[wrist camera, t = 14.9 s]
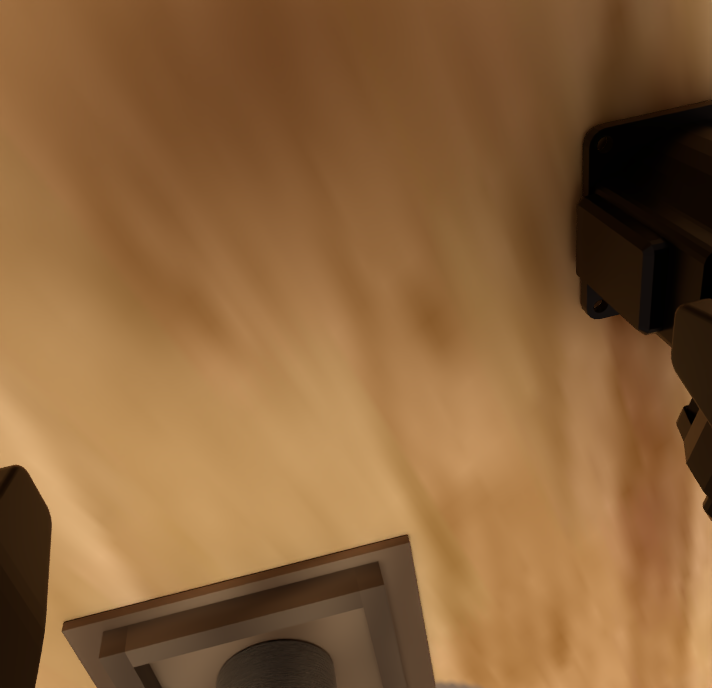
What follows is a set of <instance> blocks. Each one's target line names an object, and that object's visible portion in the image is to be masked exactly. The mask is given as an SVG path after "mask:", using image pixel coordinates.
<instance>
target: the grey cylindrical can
mask: <svg viewBox="0 0 712 688" xmlns="http://www.w3.org/2000/svg"><path fill="white" fill-rule="evenodd" d="M216 688H337V682H336V675H335V668H334V664H333V661H332V659H331V658H330V657H329V655H328V654H327V653H326V652H325V651H323V650H322V649H320V648H318V647H316V646H314V645H311V644H308V643H304V642H299V641H286V640H285V641H273V642H267V643H262V644H259V645H255V646H252V647H250V648H247V649H245V650H243V651H241V652H239V653H238V654H236V655H235V656H233V657H232V658H231V659H229V660H228V661H227V662H226V663H225V664H224V665H223V667H222V668H221V670H220V671H219V673H218V676H217V680H216Z"/></svg>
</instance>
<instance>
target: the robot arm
mask: <svg viewBox="0 0 712 688" xmlns="http://www.w3.org/2000/svg"><path fill="white" fill-rule="evenodd" d="M605 136H606V137H607V142H606V145H605V146H604V147H603V148H602V149H600V150H598V149H597V144H598V142H599V140H600V139H601V138H603V137H605ZM576 273H577V275H578V276H579V277H580V278H581V279H582V280H581V305H582V309H583V310H584V311H585V312H586V313H587V314H588V315H589V316H590V317H591V318H593V319H602V318H606V317H610V316H614V315H619V314H620V315H621V316H622V317H623V318H625V319H626V320H627V321H628V322H629V323H630V324H631V325H632V326H633V327H634V328H635V329H637V330H638V331H639V332H641V333H642V334H644V335H649V334H653V333H656V334H657V335H658V336H659V337H660V338H662V339H663V340H664V341H665V342H666V343H667V344H668V345H669V346H671V347H672V349H671V359H672V364H673V367H674V370H675V372H676V373H677V375H678V376H679V378H680V380H681V381H682V383H683V384H684V386H685V387H686V389H687V390H688V392H689V393H690V395H691V396H692V399H691V401H690V404H689V405H687V406H684V407H683V409H682V411H681V413H680V415H679V418H678V420H677V422H676V424H677V427H678V429H679V432H680V434H681V436H682V439H683V441H684V448H685V456H686V464H687V465H688V467H689V469H690V470H691V472H692V474H693V475H694V477H695V478H696V480H697V482H698V483H699V485H700V487H701V488H702V490H703V492H704V493H705V494H706V495H707V496H706V498H705V500H704V502H703V509H704V510H705V512H706V513H707V515H708V517H709V518H710V520H711V521H712V100H710V101H705V102H701V103H696V104H691V105H687V106H682V107H678V108H673V109H669V110H664V111H660V112H655V113H650V114H646V115H641V116H637V117H632V118H628V119H623V120H619V121H614V122H609V123H605V124H600V125H597V126H595V127H593V128H592V129H591V130H590V131H589V132H588V133H587V134H586V136H585V138H584V142H583V189H582V198H581V199H580V201H579V203H578V204H577V227H576ZM601 299H602V302H601V304H600V305H599V306H597V307H594V304H595V303H596V302H597V301H599V300H601ZM51 530H52V522H51V516H50V512H49V509H48V507H47V505H46V504H45V502H44V500H43V498H42V496H41V495H40V493H39V491H38V489H37V488H36V486H35V484H34V482H33V480H32V479H31V477H30V475H29V473H28V472H27V471H26V469H25V468H23V467H22V466H19V465H12V466H8V467H4V468H0V688H35V684H36V679H37V674H38V668H39V663H40V657H41V652H42V645H43V639H44V633H45V623H46V611H47V595H48V579H49V563H50V547H51Z"/></svg>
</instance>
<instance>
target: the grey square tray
mask: <svg viewBox="0 0 712 688" xmlns="http://www.w3.org/2000/svg"><path fill="white" fill-rule="evenodd" d="M62 633H63V634H64V636H65V637H66V639H67V641H68V642H69V644H70V645H71V647H72V649H73V650H74V652H75V653H76V655H77V657H78V658H79V660H80V661H81V663H82V665H83V666H84V668H85V669H86V671H87V672H88V674H89V676H90V677H91V679H92V680H93V682H94V684H95V685H96V687H97V688H216V680H217V676H218V673H219V671H220V670H221V668H222V667H223V665H224V664H225V663H226V662H227V661H228V660H229V659H231V658H232V657H233V656H235V655H236V654H238V653H239V652H241V651H243V650H245V649H247V648H250V647H252V646H255V645H259V644H262V643H267V642H273V641H285V640H286V641H299V642H304V643H308V644H311V645H314V646H316V647H318V648H320V649H322V650H323V651H325V652H326V653H327V654H328V655H329V657H330V658H331V659H332V661H333V664H334V668H335V675H336V682H337V688H435V682H434V676H433V670H432V665H431V659H430V654H429V648H428V642H427V637H426V631H425V625H424V620H423V614H422V608H421V603H420V597H419V592H418V586H417V580H416V575H415V569H414V563H413V558H412V552H411V546H410V542H409V538H408V535H406V536H402V537H398V538H394V539H390V540H386V541H382V542H378V543H374V544H370V545H366V546H362V547H359V548H355V549H351V550H347V551H343V552H339V553H335V554H331V555H327V556H323V557H319V558H315V559H311V560H308V561H304V562H300V563H296V564H292V565H288V566H284V567H280V568H276V569H272V570H268V571H264V572H260V573H257V574H253V575H249V576H245V577H241V578H237V579H233V580H229V581H225V582H221V583H217V584H213V585H209V586H206V587H202V588H198V589H194V590H190V591H186V592H182V593H178V594H174V595H170V596H166V597H162V598H158V599H154V600H151V601H147V602H143V603H139V604H135V605H131V606H127V607H123V608H119V609H115V610H111V611H107V612H103V613H100V614H96V615H92V616H88V617H84V618H80V619H76V620H72V621H68V622H64V623H63V628H62Z"/></svg>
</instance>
